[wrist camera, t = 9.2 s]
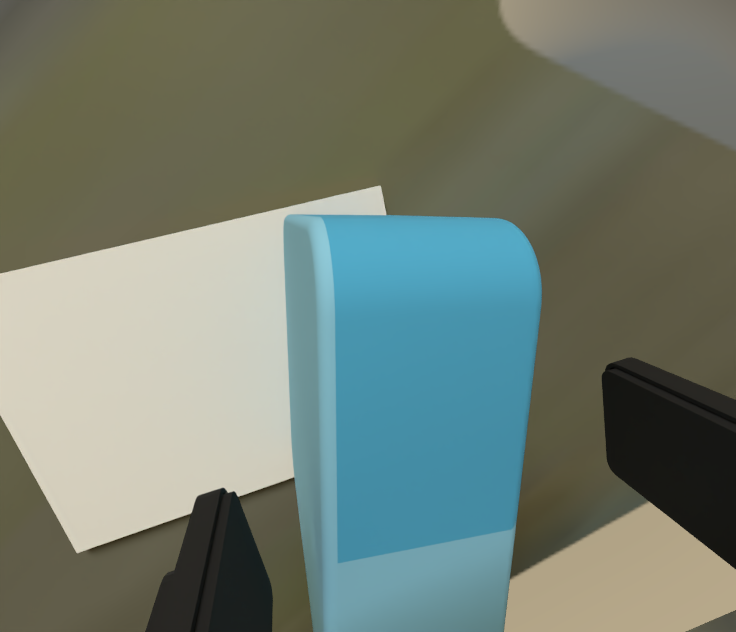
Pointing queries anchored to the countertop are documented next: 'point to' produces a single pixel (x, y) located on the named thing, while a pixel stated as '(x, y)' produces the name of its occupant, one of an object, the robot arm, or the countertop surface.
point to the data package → (409, 414)
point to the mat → (154, 371)
